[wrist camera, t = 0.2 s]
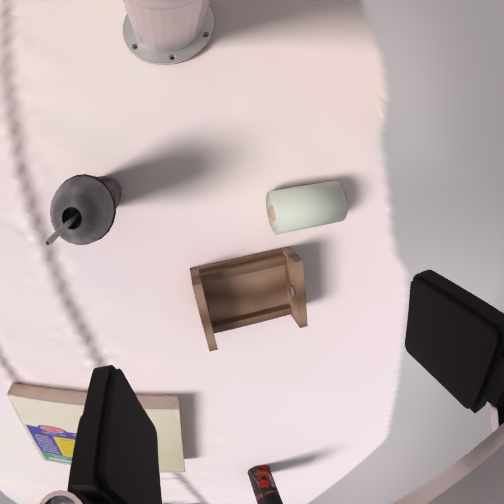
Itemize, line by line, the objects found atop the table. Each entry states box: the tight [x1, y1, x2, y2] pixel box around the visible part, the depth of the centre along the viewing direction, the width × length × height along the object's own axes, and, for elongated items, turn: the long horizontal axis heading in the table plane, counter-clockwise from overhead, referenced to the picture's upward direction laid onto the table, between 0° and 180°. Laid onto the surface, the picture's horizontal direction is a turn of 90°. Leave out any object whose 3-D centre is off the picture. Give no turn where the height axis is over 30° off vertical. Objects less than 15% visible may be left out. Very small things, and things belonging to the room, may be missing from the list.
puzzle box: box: [7, 383, 185, 472], centre depth 50 cm, size 36×5×24 cm
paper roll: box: [266, 181, 347, 234], centre depth 43 cm, size 10×6×6 cm, turn 99°
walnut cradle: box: [190, 247, 307, 351], centre depth 46 cm, size 11×15×6 cm
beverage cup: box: [45, 174, 121, 246], centre depth 30 cm, size 7×7×20 cm
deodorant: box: [248, 465, 283, 504], centre depth 61 cm, size 6×6×15 cm
